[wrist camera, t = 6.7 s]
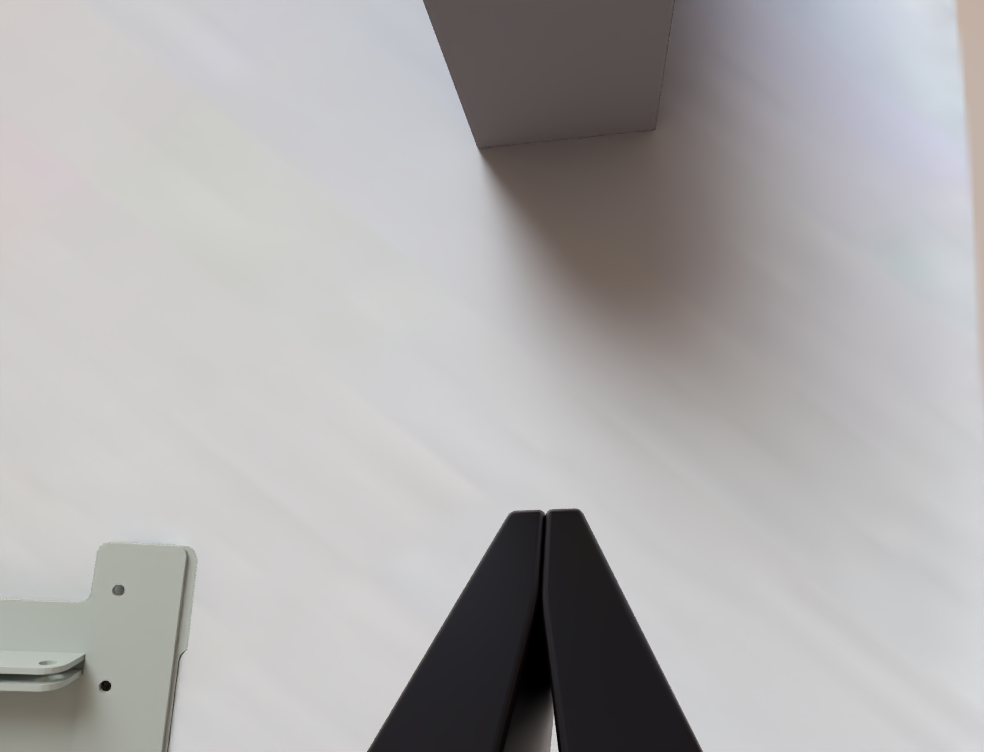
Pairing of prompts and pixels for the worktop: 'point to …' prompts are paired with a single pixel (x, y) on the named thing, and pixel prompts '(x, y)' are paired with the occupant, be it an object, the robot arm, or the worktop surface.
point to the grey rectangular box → (554, 65)
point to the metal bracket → (98, 656)
